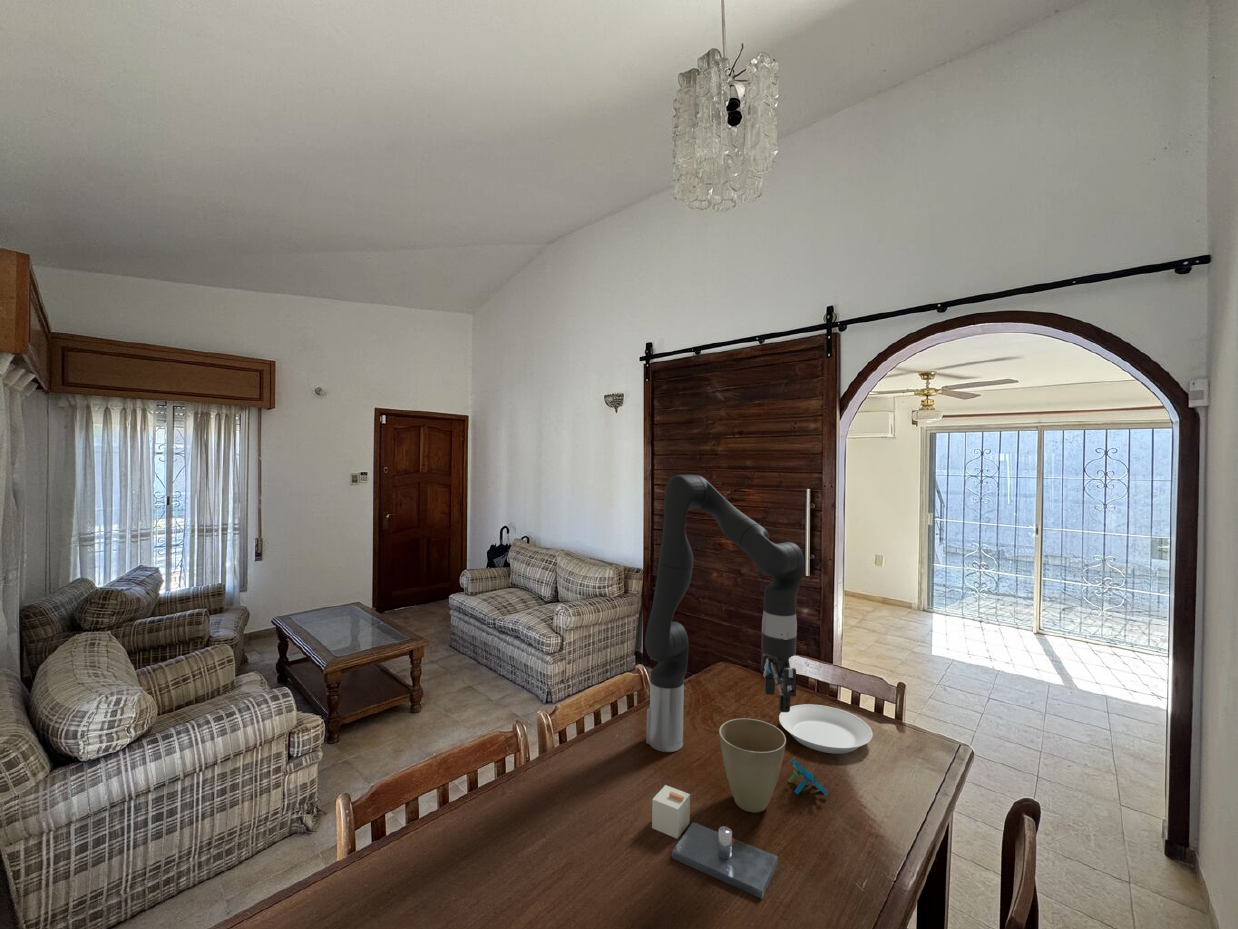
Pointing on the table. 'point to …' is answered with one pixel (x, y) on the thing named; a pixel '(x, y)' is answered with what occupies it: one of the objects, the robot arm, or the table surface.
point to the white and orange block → (671, 811)
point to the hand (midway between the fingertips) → (776, 702)
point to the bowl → (825, 728)
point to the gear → (804, 778)
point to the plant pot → (752, 760)
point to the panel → (726, 858)
